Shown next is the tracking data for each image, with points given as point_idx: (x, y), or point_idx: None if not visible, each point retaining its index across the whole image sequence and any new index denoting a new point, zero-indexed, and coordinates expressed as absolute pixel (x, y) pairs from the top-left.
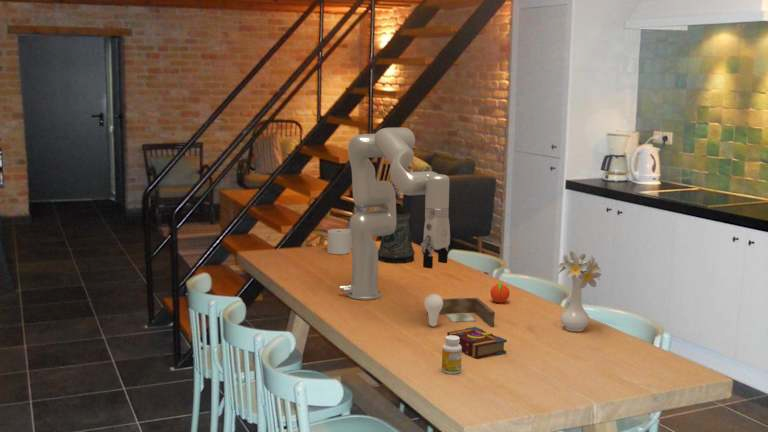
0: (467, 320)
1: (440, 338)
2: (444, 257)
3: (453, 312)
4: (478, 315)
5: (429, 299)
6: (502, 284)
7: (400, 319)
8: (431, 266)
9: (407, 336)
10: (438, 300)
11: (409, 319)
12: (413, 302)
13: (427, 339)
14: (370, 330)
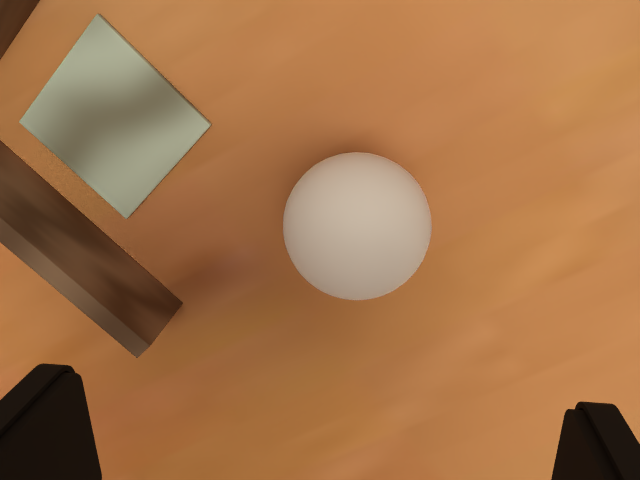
0: (137, 56)
1: (564, 20)
2: (25, 462)
3: (65, 203)
4: (1, 52)
5: (417, 250)
6: None
7: (348, 372)
8: (625, 429)
9: (622, 210)
10: (387, 181)
11: (320, 338)
12: None
13: (625, 81)
14: None
